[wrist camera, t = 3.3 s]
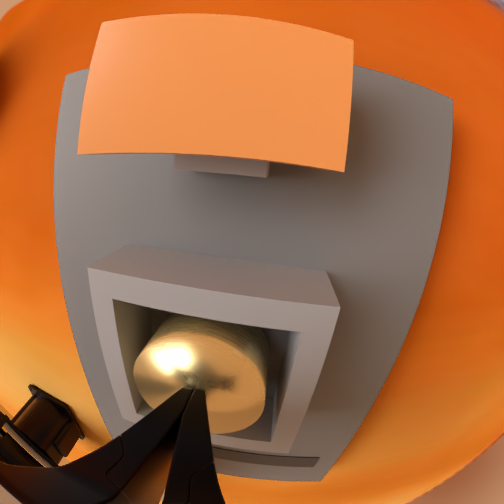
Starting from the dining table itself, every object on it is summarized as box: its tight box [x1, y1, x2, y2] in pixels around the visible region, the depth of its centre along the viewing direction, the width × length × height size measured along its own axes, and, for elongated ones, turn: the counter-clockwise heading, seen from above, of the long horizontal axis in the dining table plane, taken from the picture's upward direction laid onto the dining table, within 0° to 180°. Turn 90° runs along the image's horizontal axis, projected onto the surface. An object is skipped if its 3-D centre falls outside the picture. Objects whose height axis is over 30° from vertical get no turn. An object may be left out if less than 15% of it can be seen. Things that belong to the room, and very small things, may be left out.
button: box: [133, 312, 269, 434], centre depth 10 cm, size 5×5×3 cm
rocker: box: [77, 14, 354, 172], centre depth 6 cm, size 7×4×1 cm, turn 84°
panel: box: [54, 65, 453, 481], centre depth 12 cm, size 18×27×5 cm, turn 174°
